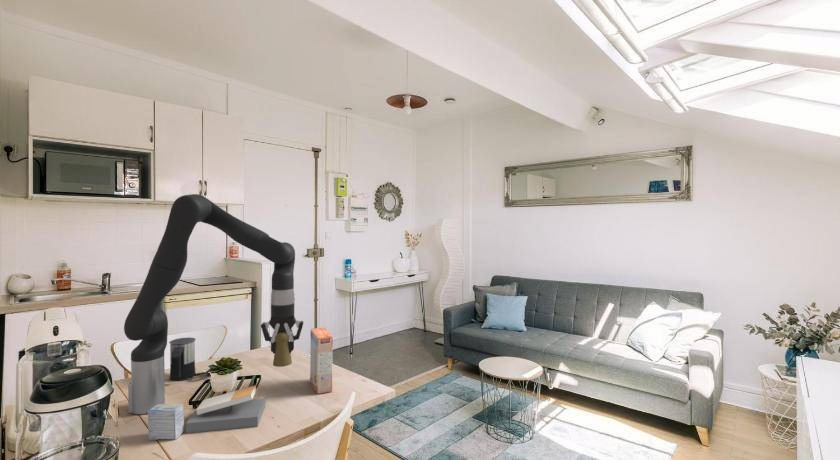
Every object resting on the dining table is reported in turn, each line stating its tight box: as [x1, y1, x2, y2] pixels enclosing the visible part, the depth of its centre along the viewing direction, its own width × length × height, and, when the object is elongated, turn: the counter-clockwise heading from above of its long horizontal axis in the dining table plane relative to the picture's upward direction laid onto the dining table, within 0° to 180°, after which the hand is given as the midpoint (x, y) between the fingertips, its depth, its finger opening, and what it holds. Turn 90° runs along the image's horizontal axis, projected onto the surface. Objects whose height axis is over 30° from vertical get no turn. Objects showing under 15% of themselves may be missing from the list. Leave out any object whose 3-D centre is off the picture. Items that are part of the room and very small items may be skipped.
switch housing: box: [185, 397, 266, 434], centre depth 126 cm, size 20×13×5 cm, turn 102°
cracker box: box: [309, 327, 334, 395], centre depth 151 cm, size 14×6×21 cm, turn 25°
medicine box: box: [147, 403, 185, 441], centre depth 116 cm, size 8×4×9 cm, turn 92°
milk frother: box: [168, 336, 211, 382], centre depth 159 cm, size 14×16×15 cm
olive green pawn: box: [272, 332, 293, 368], centre depth 133 cm, size 6×6×11 cm
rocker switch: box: [195, 385, 257, 415], centre depth 125 cm, size 16×7×2 cm, turn 102°
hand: (282, 352), depth 133 cm, fingers closed on olive green pawn, 4 cm apart
